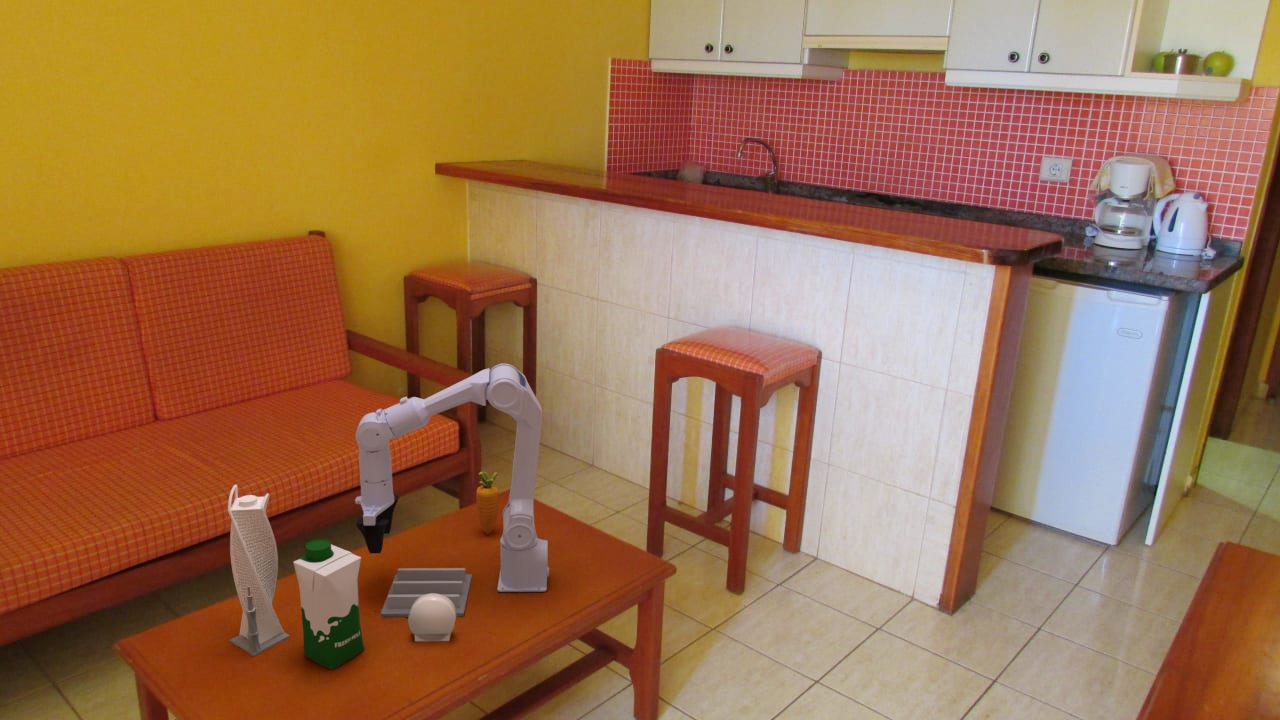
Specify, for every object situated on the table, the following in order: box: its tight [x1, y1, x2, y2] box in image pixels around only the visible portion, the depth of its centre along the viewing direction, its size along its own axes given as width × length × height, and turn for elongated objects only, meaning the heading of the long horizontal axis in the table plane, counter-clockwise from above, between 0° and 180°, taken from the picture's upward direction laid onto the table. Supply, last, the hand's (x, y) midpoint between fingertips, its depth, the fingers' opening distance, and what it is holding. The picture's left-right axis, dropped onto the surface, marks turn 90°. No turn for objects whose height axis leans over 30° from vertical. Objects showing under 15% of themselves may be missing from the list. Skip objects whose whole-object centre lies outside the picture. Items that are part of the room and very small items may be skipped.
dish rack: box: [380, 567, 473, 618], centre depth 171 cm, size 15×14×3 cm
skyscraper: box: [227, 483, 291, 657], centre depth 153 cm, size 8×8×28 cm
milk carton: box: [292, 538, 365, 671], centre depth 150 cm, size 9×9×20 cm
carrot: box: [475, 471, 500, 535], centre depth 194 cm, size 5×5×15 cm
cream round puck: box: [407, 593, 457, 642], centre depth 157 cm, size 8×2×8 cm, turn 94°
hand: (379, 542), depth 170 cm, fingers open, 7 cm apart
